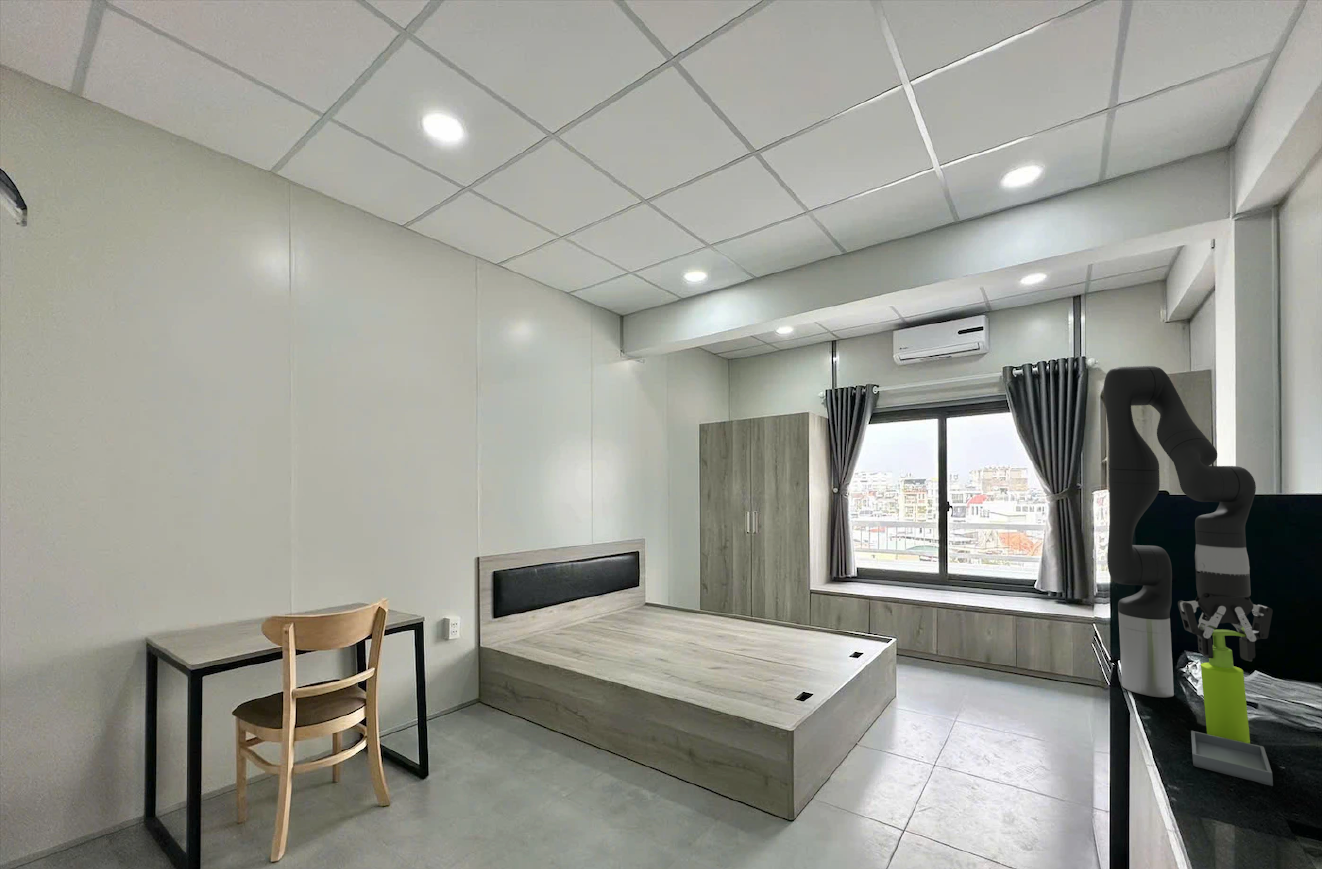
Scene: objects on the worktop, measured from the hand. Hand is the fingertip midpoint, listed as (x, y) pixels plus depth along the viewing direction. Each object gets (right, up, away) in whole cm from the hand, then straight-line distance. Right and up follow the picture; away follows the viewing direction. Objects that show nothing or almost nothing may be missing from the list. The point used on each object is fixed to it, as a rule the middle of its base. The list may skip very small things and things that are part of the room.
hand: (1226, 658), depth 110 cm
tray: (-9, -14, -10) cm, 20 cm away
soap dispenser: (0, -15, -1) cm, 15 cm away
